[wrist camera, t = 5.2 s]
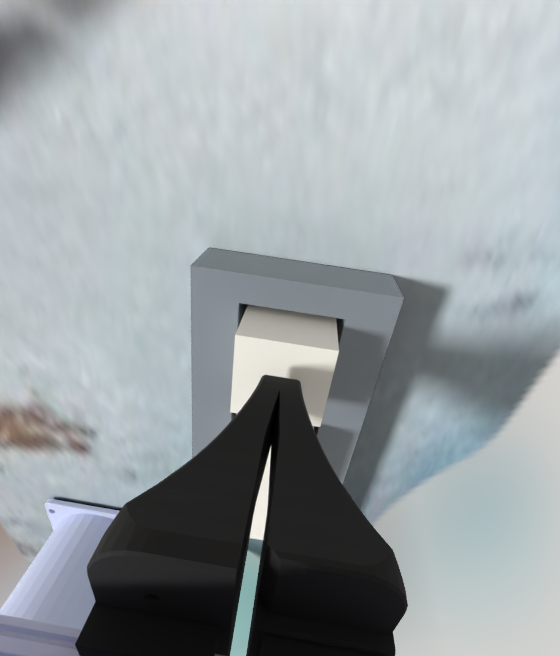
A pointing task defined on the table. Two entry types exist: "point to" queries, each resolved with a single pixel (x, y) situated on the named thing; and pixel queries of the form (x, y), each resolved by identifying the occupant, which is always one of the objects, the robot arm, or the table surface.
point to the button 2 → (285, 355)
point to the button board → (299, 296)
